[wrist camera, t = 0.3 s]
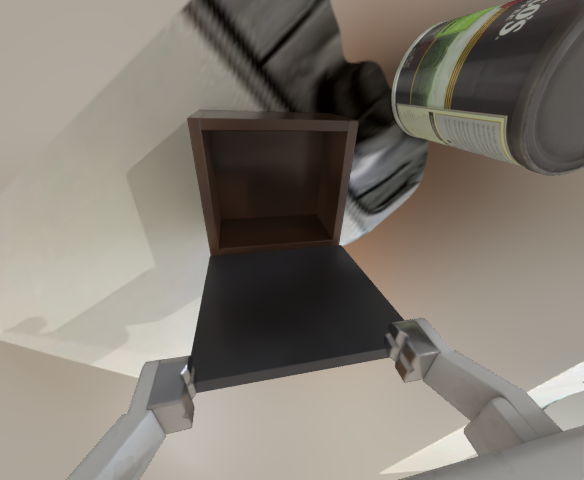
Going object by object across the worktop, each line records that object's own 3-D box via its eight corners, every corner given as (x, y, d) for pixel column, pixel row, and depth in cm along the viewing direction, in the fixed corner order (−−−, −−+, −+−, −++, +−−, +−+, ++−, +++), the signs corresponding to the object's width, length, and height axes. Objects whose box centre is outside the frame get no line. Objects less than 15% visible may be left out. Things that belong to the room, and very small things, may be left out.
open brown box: (198, 109, 22) (186, 117, 16) (330, 112, 24) (359, 120, 19) (215, 223, 28) (210, 257, 23) (319, 216, 31) (339, 246, 25)
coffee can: (385, 43, 22) (552, -5, 11) (490, 1, 22) (774, -94, 11) (393, 152, 28) (508, 199, 16) (477, 119, 28) (652, 142, 16)
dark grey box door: (185, 384, 11) (187, 394, 12) (423, 342, 14) (419, 352, 14) (209, 256, 22) (211, 263, 22) (340, 244, 24) (340, 252, 25)
